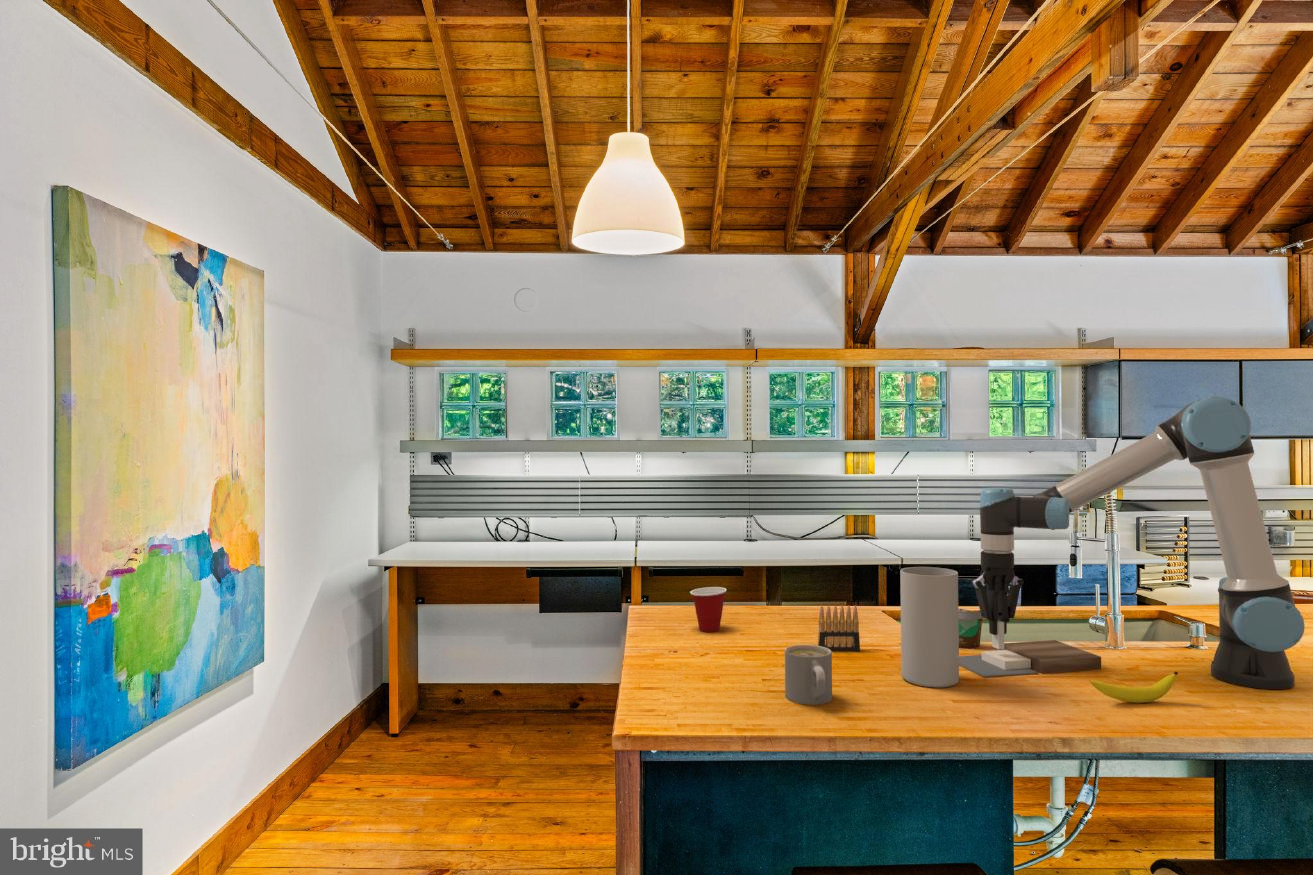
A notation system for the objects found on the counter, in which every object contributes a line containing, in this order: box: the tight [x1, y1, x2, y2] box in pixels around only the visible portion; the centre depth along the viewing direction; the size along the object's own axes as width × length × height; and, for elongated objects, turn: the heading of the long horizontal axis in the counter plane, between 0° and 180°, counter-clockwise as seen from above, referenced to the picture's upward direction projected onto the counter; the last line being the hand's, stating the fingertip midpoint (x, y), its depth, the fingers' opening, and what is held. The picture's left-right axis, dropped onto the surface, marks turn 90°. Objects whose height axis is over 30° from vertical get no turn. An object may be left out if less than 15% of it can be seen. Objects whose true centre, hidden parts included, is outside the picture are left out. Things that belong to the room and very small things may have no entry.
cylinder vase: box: [899, 566, 960, 689], centre depth 178 cm, size 12×12×25 cm
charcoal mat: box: [959, 654, 1039, 679], centre depth 188 cm, size 16×14×1 cm
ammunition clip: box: [817, 604, 861, 653], centre depth 203 cm, size 11×2×12 cm, turn 88°
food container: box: [958, 608, 984, 650], centre depth 206 cm, size 12×6×10 cm, turn 62°
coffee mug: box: [784, 644, 833, 706], centre depth 165 cm, size 13×10×10 cm
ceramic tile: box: [981, 649, 1031, 670], centre depth 189 cm, size 9×7×2 cm
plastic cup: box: [689, 586, 727, 633], centre depth 227 cm, size 11×11×12 cm
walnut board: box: [999, 639, 1102, 675], centre depth 191 cm, size 16×16×3 cm
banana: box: [1089, 671, 1179, 704], centre depth 161 cm, size 3×19×6 cm, turn 93°
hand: (998, 647), depth 189 cm, fingers closed
